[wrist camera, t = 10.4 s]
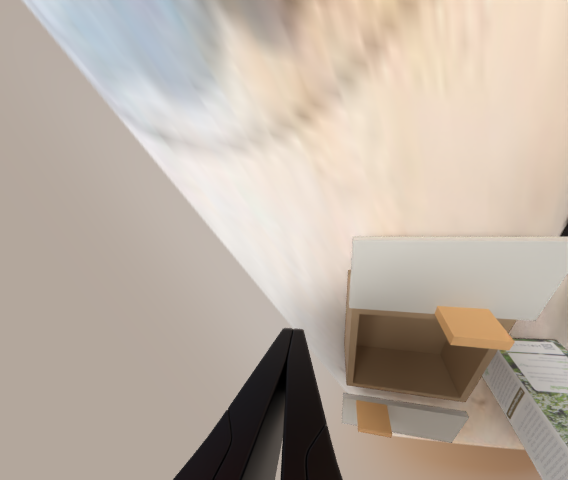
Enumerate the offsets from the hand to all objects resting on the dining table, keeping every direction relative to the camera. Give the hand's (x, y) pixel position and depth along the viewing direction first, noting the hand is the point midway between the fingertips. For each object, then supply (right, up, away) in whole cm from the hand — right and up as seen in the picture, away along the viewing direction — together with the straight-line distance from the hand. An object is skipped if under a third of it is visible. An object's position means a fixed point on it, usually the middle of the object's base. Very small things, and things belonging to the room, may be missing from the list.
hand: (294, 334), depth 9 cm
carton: (+12, -4, +14) cm, 19 cm away
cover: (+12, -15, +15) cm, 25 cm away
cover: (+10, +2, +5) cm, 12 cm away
